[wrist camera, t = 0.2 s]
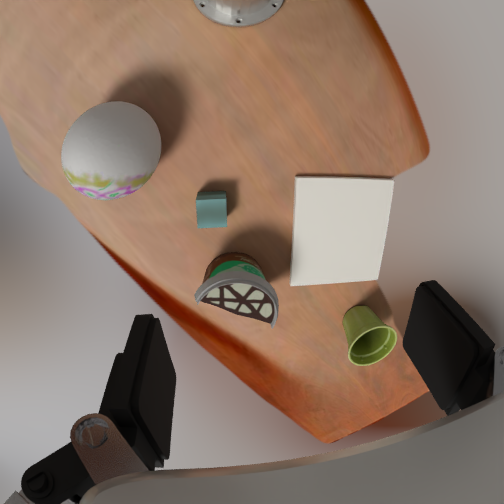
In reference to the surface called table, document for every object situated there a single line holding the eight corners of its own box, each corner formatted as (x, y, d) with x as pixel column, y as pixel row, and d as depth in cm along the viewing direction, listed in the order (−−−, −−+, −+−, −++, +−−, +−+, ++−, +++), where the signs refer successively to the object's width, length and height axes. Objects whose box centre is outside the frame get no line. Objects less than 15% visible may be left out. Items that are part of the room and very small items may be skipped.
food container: (283, 261, 51) (297, 296, 42) (266, 291, 54) (275, 329, 45) (212, 233, 48) (210, 265, 39) (197, 266, 50) (193, 303, 41)
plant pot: (386, 314, 59) (404, 342, 51) (350, 342, 61) (364, 372, 54) (364, 288, 55) (383, 317, 48) (324, 320, 58) (338, 352, 50)
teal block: (197, 192, 45) (195, 200, 41) (225, 190, 45) (226, 198, 42) (199, 217, 47) (197, 228, 43) (226, 216, 47) (227, 226, 44)
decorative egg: (82, 175, 42) (32, 209, 28) (97, 95, 37) (44, 97, 23) (157, 192, 44) (130, 233, 31) (177, 110, 39) (155, 113, 26)
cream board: (295, 176, 45) (296, 177, 44) (391, 178, 46) (394, 180, 45) (289, 282, 53) (290, 286, 52) (375, 276, 54) (377, 279, 54)
